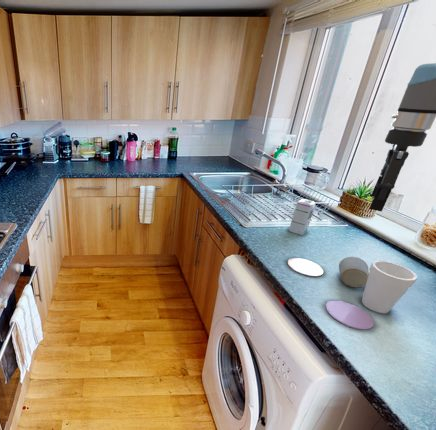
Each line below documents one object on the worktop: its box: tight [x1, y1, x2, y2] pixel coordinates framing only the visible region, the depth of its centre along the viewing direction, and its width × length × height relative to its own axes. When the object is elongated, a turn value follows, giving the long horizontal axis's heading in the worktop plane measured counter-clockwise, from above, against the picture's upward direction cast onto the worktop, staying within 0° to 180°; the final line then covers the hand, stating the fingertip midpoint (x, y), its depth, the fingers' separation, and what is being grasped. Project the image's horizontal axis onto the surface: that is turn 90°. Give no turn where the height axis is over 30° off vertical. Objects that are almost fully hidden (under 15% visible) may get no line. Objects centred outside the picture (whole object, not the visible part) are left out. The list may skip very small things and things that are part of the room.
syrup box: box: [288, 198, 317, 236], centre depth 125 cm, size 6×6×14 cm
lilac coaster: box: [325, 300, 375, 331], centre depth 82 cm, size 11×11×1 cm
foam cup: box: [361, 259, 418, 314], centre depth 83 cm, size 10×9×13 cm
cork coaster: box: [287, 257, 324, 278], centre depth 103 cm, size 11×11×1 cm
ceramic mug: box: [338, 256, 369, 288], centre depth 93 cm, size 11×8×8 cm
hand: (375, 203), depth 85 cm, fingers open, 13 cm apart
